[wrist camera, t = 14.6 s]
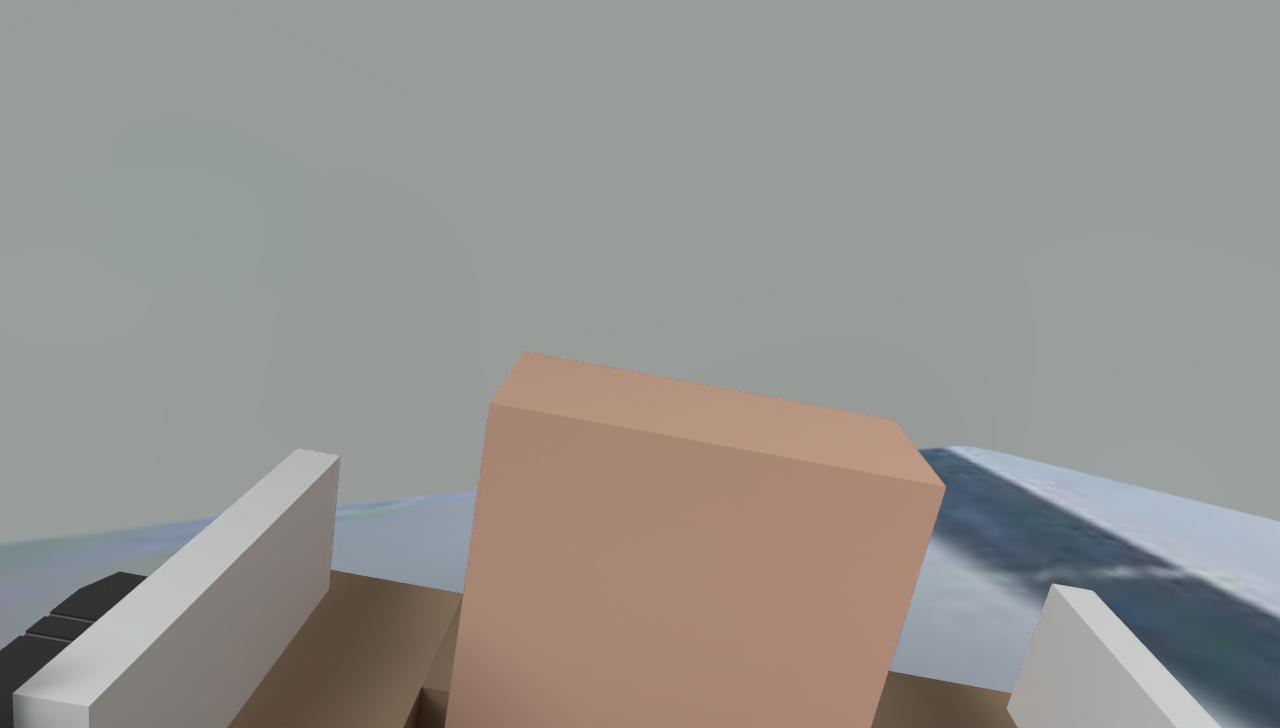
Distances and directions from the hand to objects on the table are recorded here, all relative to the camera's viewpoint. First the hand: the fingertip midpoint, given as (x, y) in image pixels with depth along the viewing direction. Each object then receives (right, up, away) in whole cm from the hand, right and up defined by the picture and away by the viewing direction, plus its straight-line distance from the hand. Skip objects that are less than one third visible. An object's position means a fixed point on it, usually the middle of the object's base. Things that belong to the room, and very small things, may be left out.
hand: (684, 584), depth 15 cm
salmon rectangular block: (-2, -8, +2) cm, 9 cm away
